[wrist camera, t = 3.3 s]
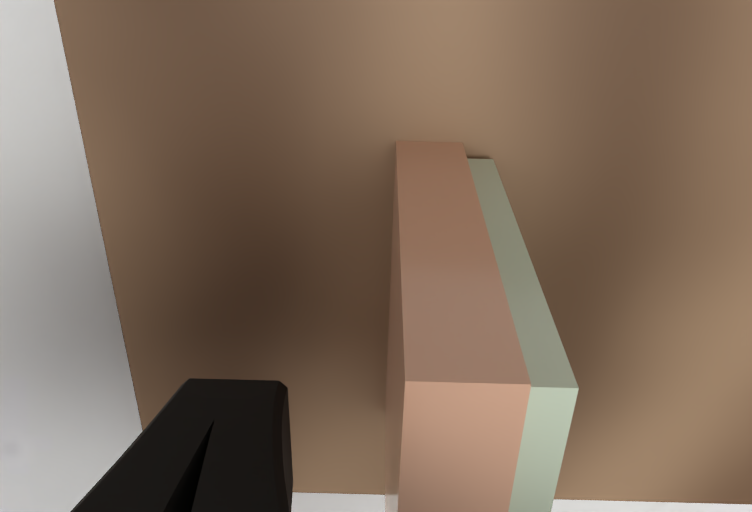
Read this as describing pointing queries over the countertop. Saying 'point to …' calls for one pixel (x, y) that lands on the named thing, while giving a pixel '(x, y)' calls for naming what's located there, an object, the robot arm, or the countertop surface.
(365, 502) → the countertop surface
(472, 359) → the tile
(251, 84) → the board
